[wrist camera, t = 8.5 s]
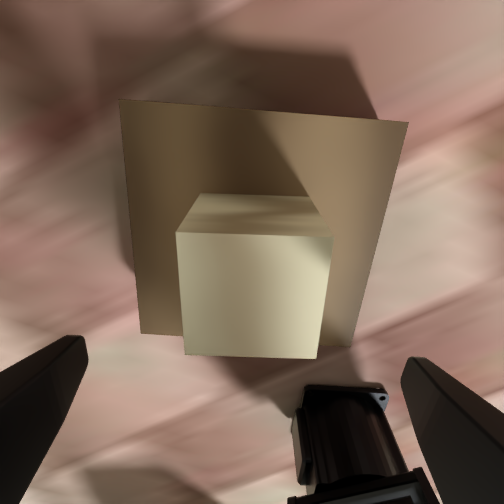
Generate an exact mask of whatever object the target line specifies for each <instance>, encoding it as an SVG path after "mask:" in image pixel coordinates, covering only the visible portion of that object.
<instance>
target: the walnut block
mask: <svg viewBox="0 0 504 504" xmlns="http://www.w3.org/2000/svg"><path fill="white" fill-rule="evenodd" d="M119 107H120V118H121V128H122V139H123V150H124V160H125V171H126V182H127V192H128V203H129V213H130V224H131V235H132V245H133V256H134V266H135V277H136V288H137V298H138V309H139V319H140V330H141V334H156V335H171V336H183V324H182V311H181V298H180V284H179V271H178V258H177V245H176V231H177V229H178V228H179V226H180V224H181V223H182V221H183V220H184V218H185V217H186V215H187V214H188V212H189V210H190V209H191V207H192V206H193V204H194V203H195V201H196V200H197V198H198V196H199V195H200V193H212V194H242V195H273V196H303V197H310V198H311V200H312V202H313V203H314V205H315V207H316V208H317V210H318V211H319V213H320V215H321V216H322V218H323V219H324V221H325V223H326V224H327V226H328V228H329V229H330V231H331V232H332V234H333V236H334V244H333V250H332V257H331V264H330V270H329V277H328V283H327V290H326V297H325V303H324V310H323V316H322V323H321V330H320V336H319V343H318V345H325V346H340V347H350V346H351V342H352V338H353V334H354V331H355V327H356V323H357V319H358V315H359V311H360V308H361V304H362V300H363V296H364V292H365V288H366V285H367V281H368V277H369V273H370V269H371V265H372V262H373V258H374V254H375V250H376V246H377V242H378V239H379V235H380V231H381V227H382V223H383V219H384V215H385V212H386V208H387V204H388V200H389V196H390V192H391V189H392V185H393V181H394V177H395V173H396V169H397V166H398V162H399V158H400V154H401V150H402V146H403V143H404V139H405V135H406V131H407V127H408V123H409V122H400V121H389V120H378V119H365V118H353V117H340V116H328V115H315V114H303V113H290V112H278V111H265V110H253V109H240V108H228V107H215V106H203V105H190V104H178V103H165V102H153V101H139V100H125V99H119Z"/></svg>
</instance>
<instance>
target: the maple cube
mask: <svg viewBox="0 0 504 504" xmlns="http://www.w3.org/2000/svg"><path fill="white" fill-rule="evenodd" d="M333 244H334V236H333V234H332V232H331V231H330V229H329V228H328V226H327V224H326V223H325V221H324V219H323V218H322V216H321V215H320V213H319V211H318V210H317V208H316V207H315V205H314V203H313V202H312V200H311V198H310V197H303V196H273V195H242V194H212V193H200V195H199V196H198V198H197V200H196V201H195V203H194V204H193V206H192V207H191V209H190V210H189V212H188V214H187V215H186V217H185V218H184V220H183V221H182V223H181V224H180V226H179V228H178V229H177V231H176V245H177V258H178V271H179V284H180V298H181V311H182V324H183V337H184V350H185V355H200V356H233V357H267V358H301V359H316V356H317V349H318V343H319V336H320V330H321V323H322V316H323V310H324V303H325V297H326V290H327V283H328V277H329V270H330V264H331V257H332V250H333Z"/></svg>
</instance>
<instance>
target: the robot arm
mask: <svg viewBox="0 0 504 504" xmlns="http://www.w3.org/2000/svg"><path fill="white" fill-rule="evenodd" d="M87 366H88V353H87V348H86V343H85V339H84V337H83V336H81V335H66V336H64V337H62V338H60V339H58V340H57V341H55V342H53V343H51V344H49V345H48V346H46V347H44V348H42V349H41V350H39V351H37V352H35V353H33V354H32V355H30V356H28V357H26V358H24V359H23V360H21V361H19V362H17V363H16V364H14V365H12V366H10V367H8V368H7V369H5V370H3V371H1V372H0V504H19V503H20V501H21V499H22V498H23V496H24V494H25V492H26V490H27V488H28V487H29V485H30V483H31V481H32V479H33V477H34V476H35V474H36V472H37V470H38V468H39V466H40V465H41V463H42V461H43V459H44V457H45V456H46V454H47V452H48V450H49V448H50V446H51V445H52V443H53V441H54V439H55V437H56V435H57V434H58V432H59V430H60V428H61V426H62V424H63V422H64V420H65V418H66V416H67V413H68V411H69V409H70V406H71V404H72V402H73V399H74V397H75V395H76V392H77V390H78V388H79V385H80V383H81V380H82V378H83V376H84V373H85V371H86V369H87ZM401 388H402V391H403V395H404V398H405V401H406V405H407V408H408V411H409V415H410V418H411V421H412V425H413V428H414V431H415V434H416V437H417V440H418V443H419V446H420V448H421V451H422V453H423V456H424V458H425V461H426V463H427V466H428V468H429V471H430V473H431V475H432V478H433V480H434V483H435V485H436V488H437V490H438V492H439V495H440V497H441V500H442V502H443V504H504V413H502V412H501V411H500V410H498V409H497V408H495V407H494V406H493V405H491V404H490V403H488V402H487V401H486V400H484V399H483V398H481V397H480V396H479V395H477V394H476V393H474V392H473V391H472V390H470V389H469V388H467V387H466V386H465V385H463V384H462V383H460V382H459V381H458V380H456V379H455V378H453V377H452V376H451V375H449V374H448V373H446V372H445V371H444V370H442V369H441V368H439V367H438V366H437V365H435V364H434V363H432V362H431V361H430V360H428V359H427V358H424V357H409V358H408V360H407V362H406V365H405V368H404V371H403V373H402V376H401ZM388 400H389V396H388V393H387V391H386V390H383V389H369V388H352V387H336V386H319V385H307V386H305V387H304V389H303V394H302V399H301V404H300V408H297V409H296V410H295V415H294V421H293V426H292V438H293V447H294V456H295V465H296V474H297V481H298V483H299V484H300V485H306V491H307V495H305V496H301V497H296V496H293V497H289V498H288V499H287V504H440V503H439V501H438V499H437V497H436V495H435V493H434V491H433V489H432V487H431V485H430V483H429V481H428V479H427V477H426V475H425V473H424V471H423V469H422V467H418V468H414V469H413V471H409V470H408V468H407V466H406V463H405V461H404V458H403V456H402V454H401V451H400V449H399V447H398V444H397V442H396V439H395V437H394V435H393V432H392V430H391V428H390V425H389V423H388V420H387V418H386V416H385V413H384V411H385V408H386V406H387V403H388Z"/></svg>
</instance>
